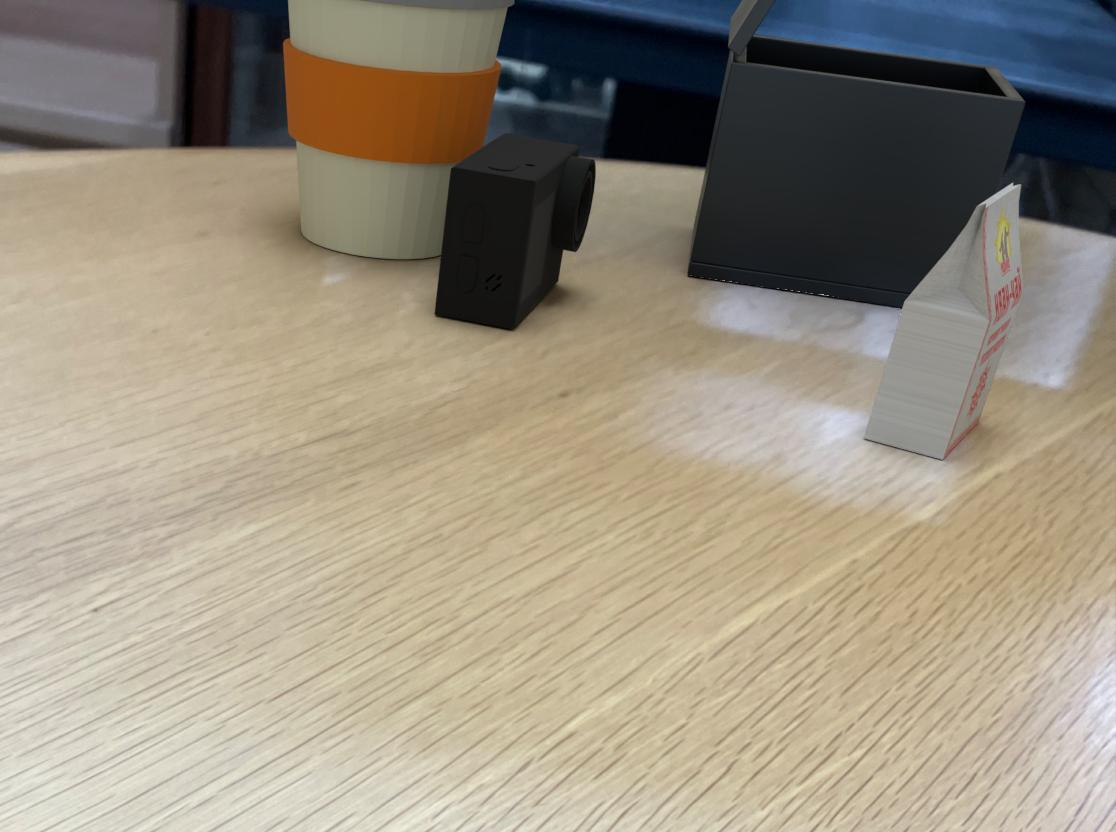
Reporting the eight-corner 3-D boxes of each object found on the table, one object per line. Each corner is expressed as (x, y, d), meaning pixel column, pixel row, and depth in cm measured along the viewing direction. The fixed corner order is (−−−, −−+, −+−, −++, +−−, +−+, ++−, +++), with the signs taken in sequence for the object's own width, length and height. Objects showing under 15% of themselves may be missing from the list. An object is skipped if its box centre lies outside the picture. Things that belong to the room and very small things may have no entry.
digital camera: (535, 336, 77) (559, 183, 73) (433, 316, 78) (450, 164, 74) (578, 287, 85) (602, 146, 80) (485, 270, 86) (504, 130, 81)
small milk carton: (863, 438, 69) (935, 197, 63) (903, 402, 74) (974, 174, 68) (942, 459, 68) (1024, 215, 62) (978, 421, 73) (1058, 191, 66)
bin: (937, 262, 97) (996, 66, 90) (957, 316, 87) (1025, 101, 80) (693, 227, 98) (733, 32, 91) (686, 276, 89) (731, 62, 82)
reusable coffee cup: (423, 208, 96) (452, -82, 86) (522, 264, 87) (566, -50, 78) (237, 211, 91) (247, -95, 81) (323, 271, 83) (345, -63, 73)
